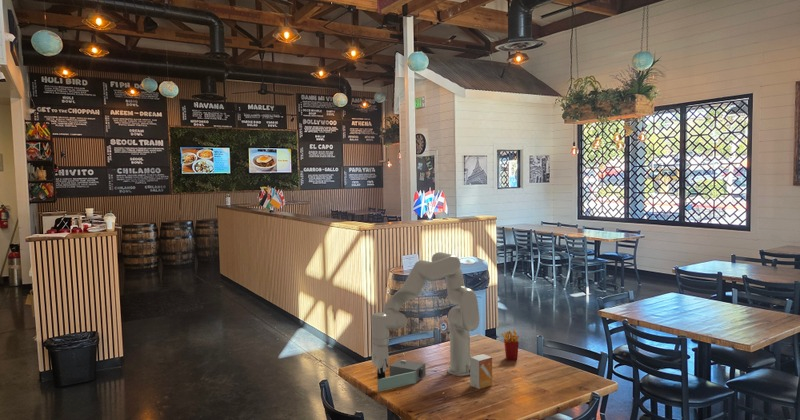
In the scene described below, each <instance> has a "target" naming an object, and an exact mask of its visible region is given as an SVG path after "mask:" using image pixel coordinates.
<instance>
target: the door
mask: <svg viewBox="0 0 800 420" xmlns="http://www.w3.org/2000/svg"><path fill="white" fill-rule="evenodd" d="M377 380H378V381H377V391H378V392H382V391H386V390H390V389H394V388H398V387H399V388H401V387H403V386H404V387H405V386H409V385H412V384H417V383H416V371H414V372H409V373H404V374H400V375H395V376H390V375H389V376H385V378H381V379H377Z"/></svg>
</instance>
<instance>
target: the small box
mask: <svg viewBox="0 0 800 420" xmlns="http://www.w3.org/2000/svg"><path fill="white" fill-rule="evenodd" d="M469 377H470V379H469V381H470V386H471V387H473V388H476V389H478V390H482V389H485V388H487V387H491V386H493V357H492V356H489V355H487V354H485V353H481V354H477V355H476V354H475V355H474V356H470V375H469Z"/></svg>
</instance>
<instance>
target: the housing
mask: <svg viewBox="0 0 800 420" xmlns="http://www.w3.org/2000/svg"><path fill="white" fill-rule="evenodd" d="M414 371H416V383H415V384H417V383H418V382H420V381H421V380H422V379H423V378H424V377H425V378H426V375H427V373H426V372H427V371H426V363H425V362H419V361H413V360H407V359H401V358H399V359H397V360H396V361H395V362H393V363H391V364H389V377H390V376H395V375H400V374H404V373H409V372H414Z"/></svg>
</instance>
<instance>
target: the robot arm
mask: <svg viewBox="0 0 800 420" xmlns="http://www.w3.org/2000/svg"><path fill="white" fill-rule="evenodd" d="M444 278H445V283H446V292H447V298H448V302H449V303H450V304H451V305H454V306H453V307H452V308H451V309H449V311H448V313H447V323H448V327H449V347H450V349H449V351H450V353H449V355H450V366H448V367H447V370H446V371H447V373H448V374H449V375H451V376H457V377H464V376H465V377H466V376H470V357H471V337H470V336H471V335H470V332H474V331H476V330H477V329H478V327H479V325H480V312H479V311H480V310H479V302H478V297H477V294H476V292H475V291H474V290H473V289H471V288H469V287H466V285H465V280H464V274H463V271H462V268H461V260H460V258H459V257H458V256H457V255H454V254H450V253H446V252H439V251H438V252H435V253H434V254H433V255H432V258H431V261H429V260H421V259H420V260H418V261H416V262H415V263H414V265H413V267H412V269H411V270H410V272H409V274H408V275H407V277H406V280H405V281H404V283H403V285H402V287H400V288H399V289H398V290H397V291H396V292H395V293H394V294H393V295H392V296H391V297H390V298H389V299H388V301H387V302H386V305H385V306H384V308H383V310H382V312H374V313H373V314H372V315H371V317H370V318H371V346H372V349H371V363H372V364H373V365H374V366H375V367H376V371H377V373H376V374H377V375H376V377H377V379H381V378H386V372H387V368H389V367H390V358H389V357H390V356H389V346H388V345H390V341H389V339H390V338H389V337H390V336H389V335H390V334H389V332H390V330H400V329H402V328H404V327H405V326H406V325H407V321H408V319H407V317H406V315H405V314H404V313H402V312H400V310H401V308H402V306H403V305H405V304H406V303H407V302H409V301H411V300H413V299H416V298H418V297H419V296H420V294H421V292H422V290H423V288H424V286H425V284H426V283H427V281H428V282H435V281H438V280H440V279H444ZM377 382H378V380H377Z"/></svg>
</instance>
